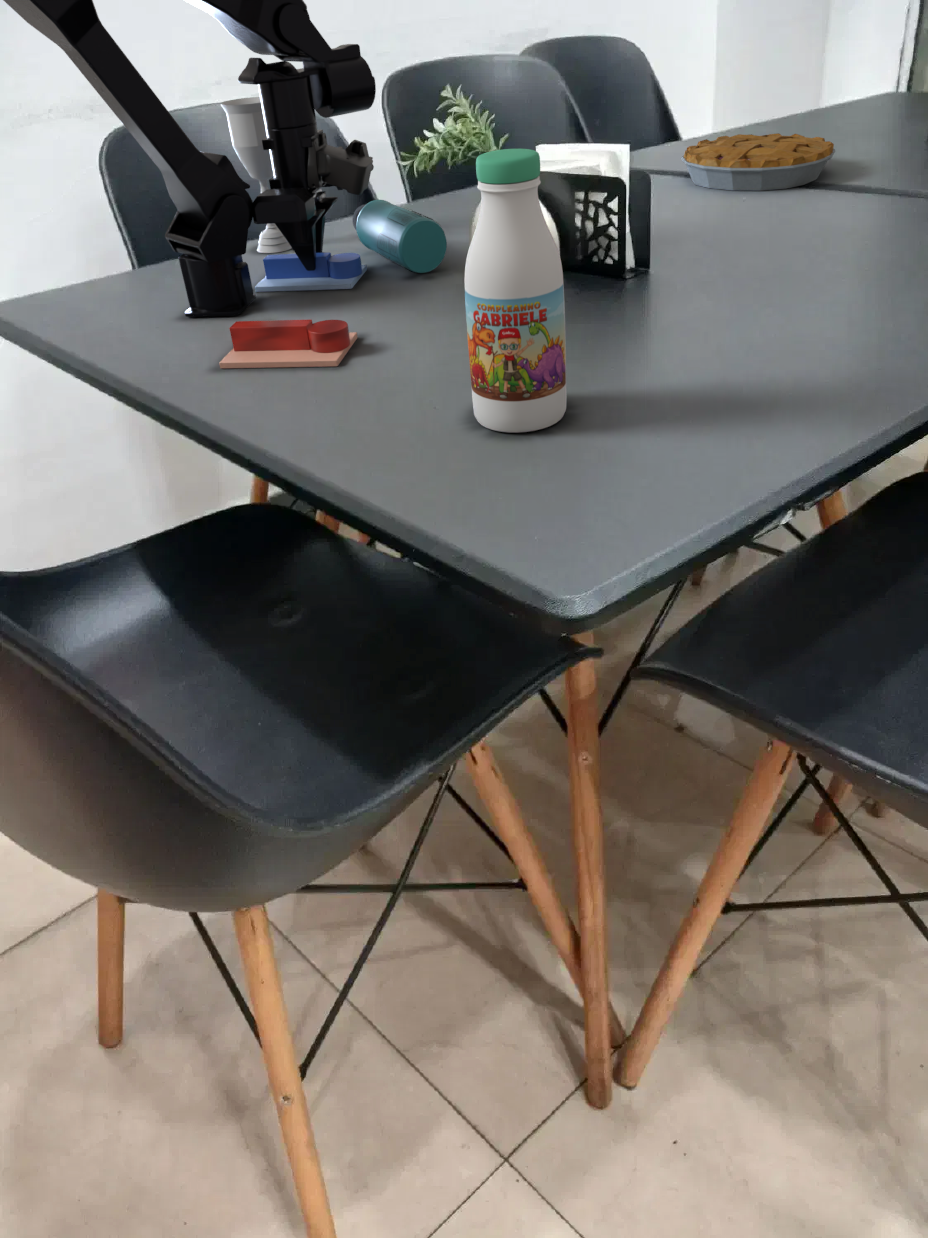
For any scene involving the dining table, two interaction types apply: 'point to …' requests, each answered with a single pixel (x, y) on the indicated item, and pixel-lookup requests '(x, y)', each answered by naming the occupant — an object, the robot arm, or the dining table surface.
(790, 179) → the pie
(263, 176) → the chalice
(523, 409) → the milk bottle
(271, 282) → the mat blue
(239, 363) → the pink flat board
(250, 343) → the red bar with disc
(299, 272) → the blue bar with disc
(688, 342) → the dining table surface
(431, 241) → the beverage bottle
